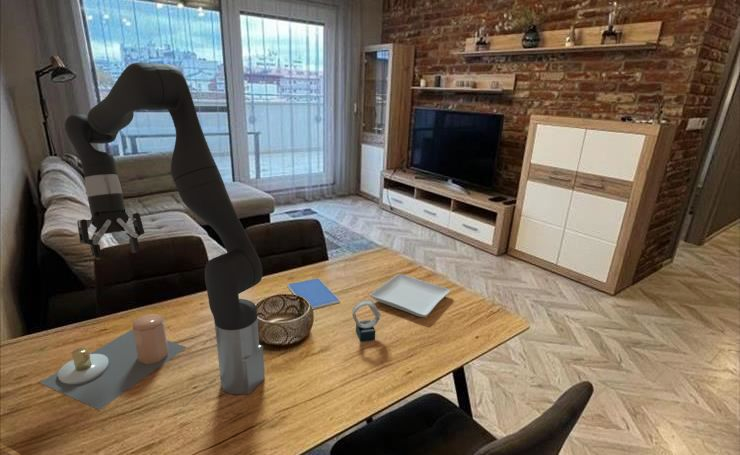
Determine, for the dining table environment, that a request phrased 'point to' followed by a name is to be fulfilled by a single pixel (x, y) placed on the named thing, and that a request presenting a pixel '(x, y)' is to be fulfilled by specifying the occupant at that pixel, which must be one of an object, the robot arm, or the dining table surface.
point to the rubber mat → (113, 372)
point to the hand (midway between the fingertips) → (117, 255)
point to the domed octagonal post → (150, 338)
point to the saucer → (74, 377)
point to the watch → (366, 322)
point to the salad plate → (410, 295)
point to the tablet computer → (314, 293)
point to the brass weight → (81, 359)
